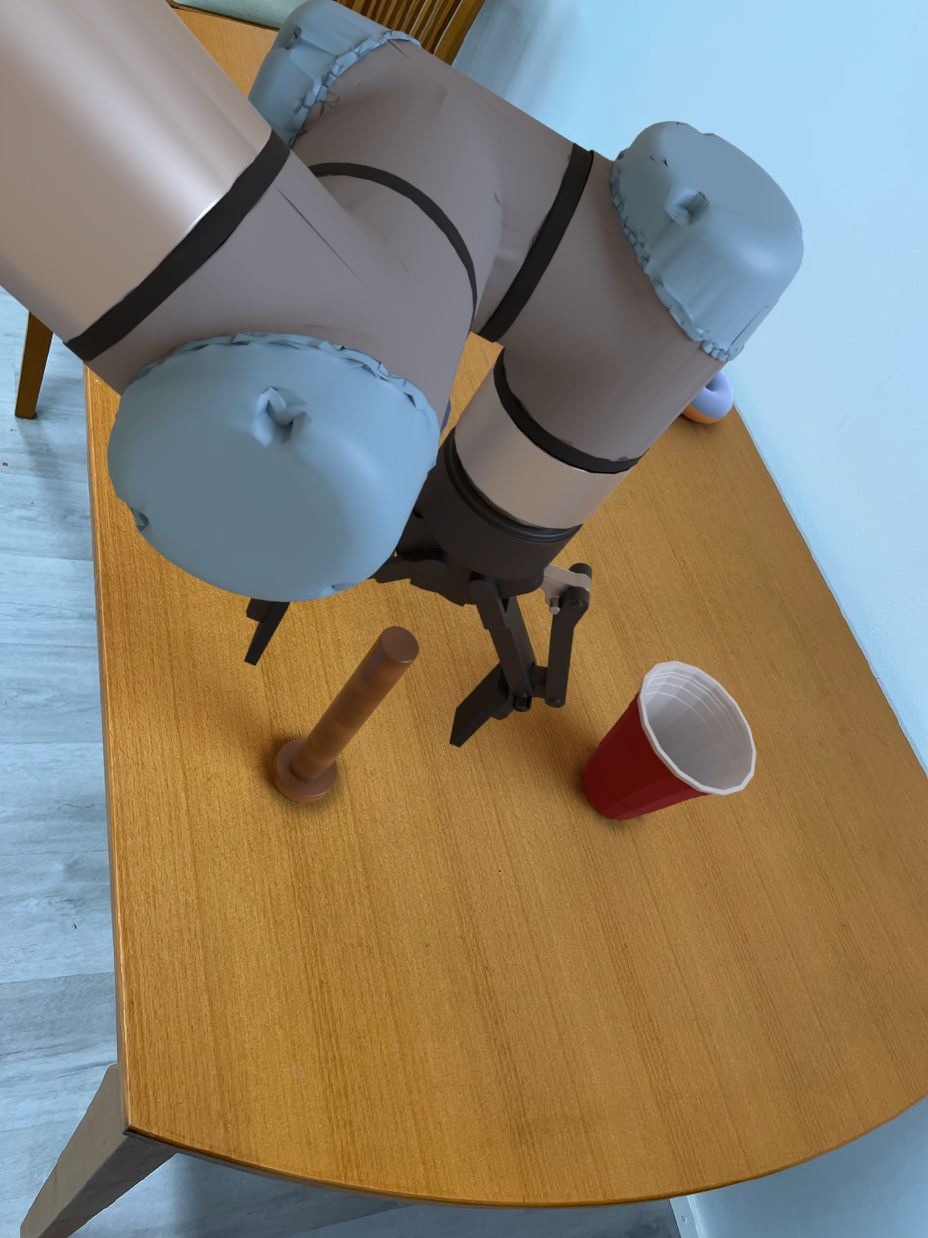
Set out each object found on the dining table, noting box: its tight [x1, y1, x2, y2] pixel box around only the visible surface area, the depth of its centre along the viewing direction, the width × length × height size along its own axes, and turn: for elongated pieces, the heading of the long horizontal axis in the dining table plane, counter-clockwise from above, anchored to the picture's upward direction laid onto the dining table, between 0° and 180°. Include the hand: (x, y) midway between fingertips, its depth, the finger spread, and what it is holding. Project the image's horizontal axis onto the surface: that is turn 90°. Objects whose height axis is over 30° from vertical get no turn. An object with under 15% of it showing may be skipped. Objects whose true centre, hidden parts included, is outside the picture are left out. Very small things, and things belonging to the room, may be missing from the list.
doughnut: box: [681, 369, 734, 425], centre depth 115 cm, size 10×10×5 cm
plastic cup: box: [581, 660, 757, 822], centre depth 75 cm, size 11×11×12 cm
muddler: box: [271, 625, 420, 804], centre depth 61 cm, size 4×4×18 cm
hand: (359, 688), depth 60 cm, fingers open, 13 cm apart
